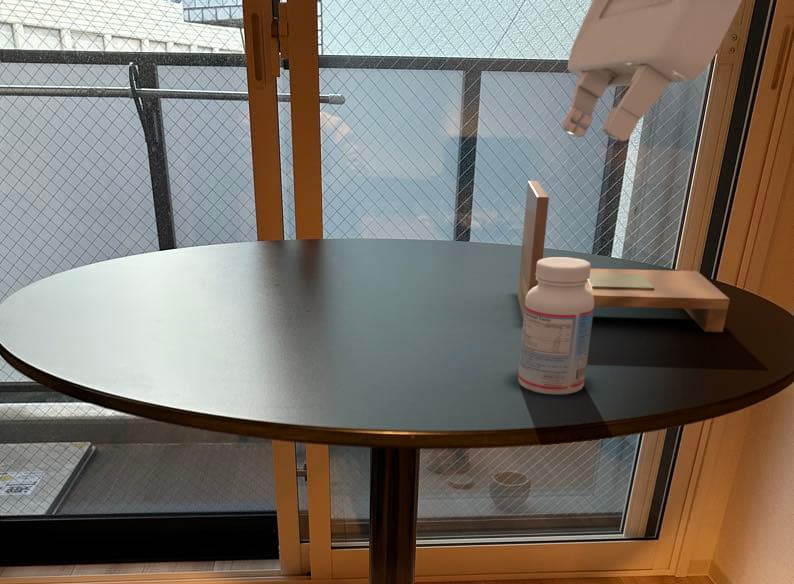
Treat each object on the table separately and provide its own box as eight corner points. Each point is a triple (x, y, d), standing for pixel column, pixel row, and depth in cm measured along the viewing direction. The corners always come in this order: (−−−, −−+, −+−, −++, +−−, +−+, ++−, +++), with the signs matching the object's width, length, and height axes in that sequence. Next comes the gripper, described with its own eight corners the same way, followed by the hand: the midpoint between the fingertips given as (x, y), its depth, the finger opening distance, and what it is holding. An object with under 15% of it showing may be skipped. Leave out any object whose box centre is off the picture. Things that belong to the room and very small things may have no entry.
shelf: (691, 303, 102) (714, 183, 95) (722, 335, 90) (751, 201, 83) (517, 298, 103) (527, 180, 96) (524, 329, 91) (537, 196, 84)
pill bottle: (557, 372, 79) (571, 252, 73) (596, 392, 74) (615, 266, 68) (504, 381, 76) (515, 258, 71) (541, 402, 72) (556, 272, 66)
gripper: (803, -54, 51) (679, 161, 56) (664, -12, 69) (579, 149, 74) (729, -113, 49) (607, 116, 54) (605, -53, 67) (522, 115, 72)
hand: (590, 135), depth 64 cm, fingers open, 8 cm apart
